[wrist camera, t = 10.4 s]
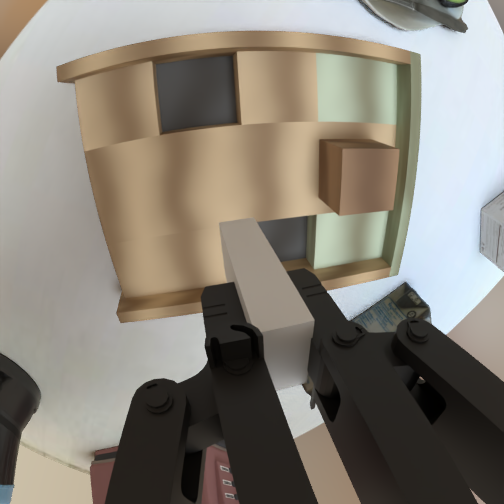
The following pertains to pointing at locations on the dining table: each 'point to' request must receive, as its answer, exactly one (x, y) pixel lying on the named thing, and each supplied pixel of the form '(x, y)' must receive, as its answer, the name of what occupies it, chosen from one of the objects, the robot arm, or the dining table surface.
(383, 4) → the salad plate
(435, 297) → the dining table surface
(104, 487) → the toaster
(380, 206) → the block
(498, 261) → the supplement box
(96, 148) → the box
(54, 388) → the dining table surface
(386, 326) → the beverage carton
